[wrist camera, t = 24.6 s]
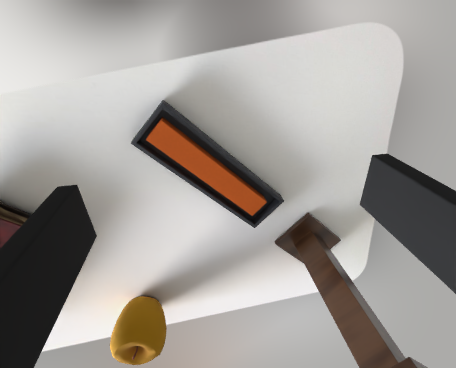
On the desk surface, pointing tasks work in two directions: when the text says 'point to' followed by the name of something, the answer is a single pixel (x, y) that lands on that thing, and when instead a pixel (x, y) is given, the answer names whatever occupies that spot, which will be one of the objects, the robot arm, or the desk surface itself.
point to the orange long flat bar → (205, 166)
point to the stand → (343, 296)
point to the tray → (215, 151)
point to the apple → (139, 332)
